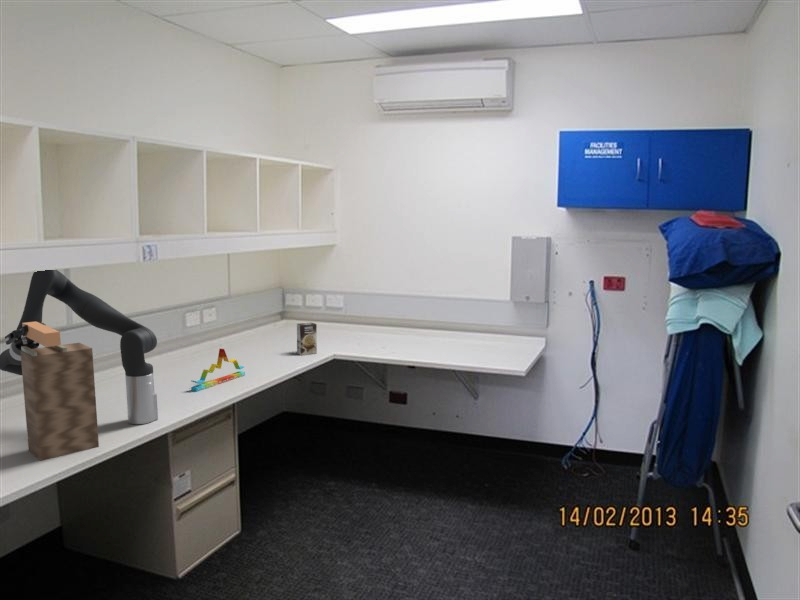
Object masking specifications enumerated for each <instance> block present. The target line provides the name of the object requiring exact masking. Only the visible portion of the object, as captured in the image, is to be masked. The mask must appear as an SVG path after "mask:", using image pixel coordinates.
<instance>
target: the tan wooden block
mask: <svg viewBox="0 0 800 600" xmlns="http://www.w3.org/2000/svg"><path fill="white" fill-rule="evenodd" d="M25 325H28V330H29V331H28V333H27V335H25V336H26V337H27V338H29V339H31V340H33V341H35V342H37V343H39V345H42V346H43V347H50V346H57V345H62V343H61V331H59V330H57V329H54V328H52V327H49V326H48V325H46V324H45V325H46V326H45V325H43V324H41V323H39V322H26V323H22V327H23V326H25Z"/></svg>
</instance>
